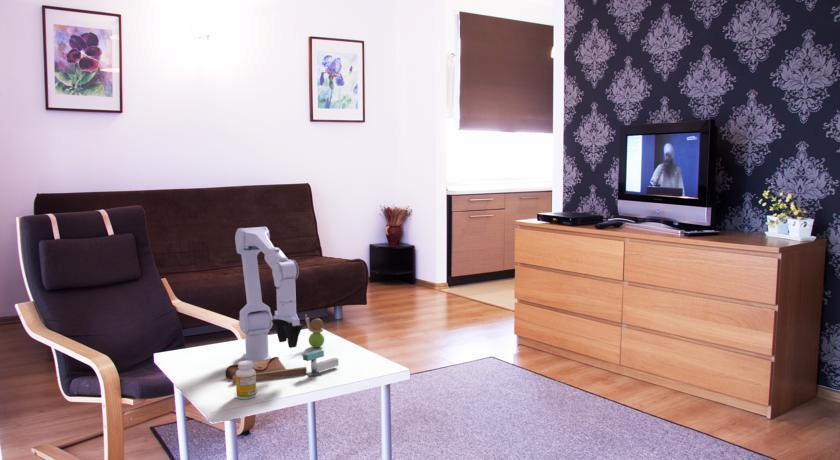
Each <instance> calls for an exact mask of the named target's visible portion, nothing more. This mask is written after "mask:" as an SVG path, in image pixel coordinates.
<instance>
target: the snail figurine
mask: <svg viewBox="0 0 840 460" xmlns="http://www.w3.org/2000/svg"><path fill="white" fill-rule="evenodd" d="M304 316H305V318H304V319H305V322H306V327H307V329H308V330H309V331H310V332H311V334H310V335H309V337H308V343H309V345H310V346H311V347H313V348H316V349H317V348H320V347H322V346H323V345H324V343H325V337H324V335H323V334H322V332H323V331H324V329H323V328H324V321H323V320H322V319H320V318H314V319H312V320H311V321H310V318H309V317H307V316H308V315H307V314H304Z"/></svg>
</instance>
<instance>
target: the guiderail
mask: <svg viewBox="0 0 840 460" xmlns="http://www.w3.org/2000/svg"><path fill="white" fill-rule="evenodd" d="M307 373H308V371H307V367H306V366H302V367H294V368H285V370H278V371H270V372H263V373H256V382H259V381H267V380H273V379H280V378H281V379H282V378H288V377H296V376H304V375H308V374H307ZM232 384H233V385H236V376H233V381H232Z"/></svg>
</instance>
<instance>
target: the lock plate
mask: <svg viewBox="0 0 840 460" xmlns="http://www.w3.org/2000/svg"><path fill="white" fill-rule="evenodd" d="M306 375H307V376H308V377H309V378H311V377H312V378H314V377H320V376H322V374H321V373H320V371H319V372H317V373H311V371H310V372H307V374H306Z"/></svg>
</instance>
